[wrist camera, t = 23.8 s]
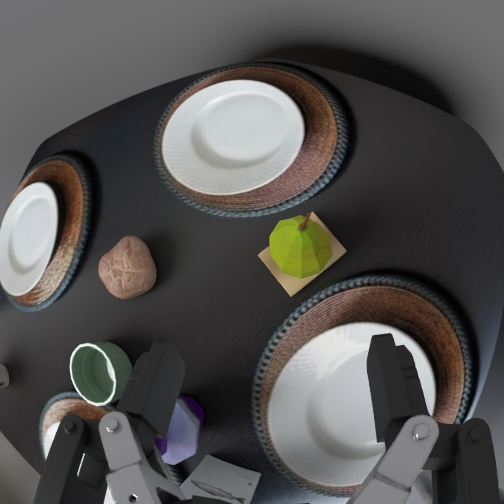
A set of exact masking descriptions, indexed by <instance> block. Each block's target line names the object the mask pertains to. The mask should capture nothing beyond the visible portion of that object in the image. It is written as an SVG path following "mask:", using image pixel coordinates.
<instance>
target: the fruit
mask: <svg viewBox="0 0 504 504" xmlns="http://www.w3.org/2000/svg"><path fill="white" fill-rule="evenodd" d="M310 214H311V212H308V213H307V216H306V217H304V216H302V215H299V216H296V217H293V218H290V219H285V220H280V221H279V223H278V224H277V226H276V227H275V229H274V230H273V232H272V233H271V235H270V256H271V257H272V258H273V260H274V261H275V263H276V264H277V265H278V267H279V268H280V270H281V271H282V272H283V273H284V274H287V275H290V276H294V277H297V278H300V279H303V278H306V277H309V276H312V275H315V274H317V273H320V272H321V270H322V269H323V268H324V266H325V265H326V264H327V262H328V261H329V260H330V258H331V257H332V250H331V243H330V237H329V236H328V235H327V233H326V232H325V231H324V230H323V229H322V227H321V226H320V225H319V224H318V223H317V222H314V221H312V220H311V219H310V218H309V217H310Z"/></svg>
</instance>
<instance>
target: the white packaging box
mask: <svg viewBox="0 0 504 504" xmlns="http://www.w3.org/2000/svg"><path fill="white" fill-rule="evenodd" d="M260 476H261V473H258V472H254V471H250V470H247V469H244V468H241V467H238V466H235V465H232V464H230V463H227V462H225V461H222V460H220V459H217V458H215V457H213V456H210V455H207V456H206V457H205V458H204V459H203V460H202V462H201V463H200V464H199V465H198V467H197V468H196V469H195V470H194V471H193V473H192V474H191V475H190V476H189V477H188V478H187V480H186V481H185V482H184V483H183V484H182V485H181V486H180V487H179V488H180V489H181V491H182V493H183V494H184V496H185V498H186V499H192V496H193V495H196V496H202V497H208V498H215V499H221V500H223V501H226V502H229V503H232V504H250V502H251V499H252V497H253V494H254V492H255V489H256V486H257V484H258V481H259V478H260Z"/></svg>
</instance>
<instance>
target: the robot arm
mask: <svg viewBox="0 0 504 504" xmlns="http://www.w3.org/2000/svg"><path fill="white" fill-rule="evenodd" d="M367 374H368V380H369V386H370V392H371V399H372V406H373V413H374V420H375V428H376V437H377V443H379V442H385V447H386V450H385V452H384V453H383V455H382V456H381V458H380V459H379V461H378V462H377V464H376V465H375V467H374V468H373V470H372V471H371V472H370V474H369V475H368V477H367V478H366V479H365V481H364V482H363V483H362V485H361V486H360V487H359V489H358V490H357V491H356V492H355V493H354V494H353V496H352V497H351V498H350V499H349V500H348V502H347V503H346V504H404V503H405V502H406V500H407V499H408V497H409V495H410V493H411V487H412V485H413V483H414V481H415V480H416V478H417V476H418V475H419V473H420V471H421V470H432V487H433V504H504V488H503V487H502V486H501V485H500V484H498V476H497V468H496V460H495V454H494V448H493V443H492V438H491V433H490V429H489V426H488V424H487V423H486V422H485V421H484V420H482V419H479V418H473V419H469V420H468V421H466V422H465V423H464V424H463V425H458V424H443V423H440V422H438V421H436V420H434V419H433V418H432V417H431V415H430V414H429V412H428V410H427V406H426V402H425V398H424V394H423V390H422V387H421V383H420V379H419V377H418V372H417V369H416V368H415V362H414V359H413V356H412V354H411V353H410V351H409V350H408V349H407V348H406V347H405V345H400V346H396V345H395V342H394V338H393V336H392V334H391V333H388V334H380V335H373V336H372V338H371V343H370V348H369V352H368V357H367ZM184 375H185V365H184V362H183V360H182V358H181V356H180V354H179V352H178V350H177V348H176V346H175V344H174V343H173V342H172V341H154V342H153V344H152V346H151V348H150V351H149V352H144V353H143V354H142V355H141V356H140V357H139V359H138V360H137V361H136V363H135V366H134V368H133V372H131V375H130V377H129V380H128V382H127V384H126V386H125V389H124V391H123V393H122V396H121V398H120V400H119V403H118V405H117V407H116V409H115V411H113V412H109V413H107V414H106V415H104V416H103V418H102V419H99V420H83V419H82V418H81V417H80V416H78V415H77V414H69V415H67V416H65V417H64V418H63V419H62V421H61V422H60V425H59V427H58V430H57V432H56V435H55V437H54V440H53V443H52V445H51V448H50V451H49V454H48V456H47V459H46V462H45V465H44V468H43V471H42V474H41V478H40V481H39V484H38V487H37V491H36V494H35V498H34V501H33V504H103V503H104V499H105V495H106V491H107V487H108V486H109V489H110V492H111V495H112V497H113V500H114V503H115V504H232V503H229V502H226V501H223V500H221V499H215V498H208V497H202V496H196V495H193V496H192V499H186V498H185V496H184V494H183V493H182V491H181V489H180V488H179V487H178V485H177V484H176V483H175V482H174V481H173V479H172V478H171V476H170V474H169V472H168V470H167V468H166V466H165V464H164V462H163V459H162V457H161V455H160V453H159V451H158V448H157V446H156V444H155V440H156V437H159V438H164V439H166V435H167V432H168V429H169V425H170V422H171V418H172V415H173V412H174V408H175V405H176V402H177V398H178V395H179V392H180V389H181V385H182V382H183V379H184ZM83 453H84V454H85V456H84V459H83V462H82V465H81V469H80V472H79V475H78V476H77V473H78V469H79V466H80V463H81V460H82V457H83ZM304 504H309V503H304Z"/></svg>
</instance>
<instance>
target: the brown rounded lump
mask: <svg viewBox="0 0 504 504" xmlns="http://www.w3.org/2000/svg"><path fill="white" fill-rule="evenodd" d="M98 270H99V276H100V278H101V280H102V281H103V283H104V284H105V286H106V288H107V289H108V290H109V292H110V293H111V294H113V295H114V296H116V297H119V298H121V299H130V298H134V297H137V296H139V295H142V294H144V293H146V292H147V291H148V290H150V289H151V288H152V287H153V285H154V283H155V280H156V267H155V263H154V261H153V259H152V257H151V254H150V251H149V248H148V247H147V246H146V244H145V243H144V242H143V241H142V240H141V239H139V238H138V237H136V236H135V237H134V236H126V237H124V238H123V239H122V240H120V241H119V242H118V243H117V245H115V247H114V248H113V249H111V251H110V252H108V253H107V254H105V255H104V256H103V257H102V258H101V261H100V262H99V268H98Z"/></svg>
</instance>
